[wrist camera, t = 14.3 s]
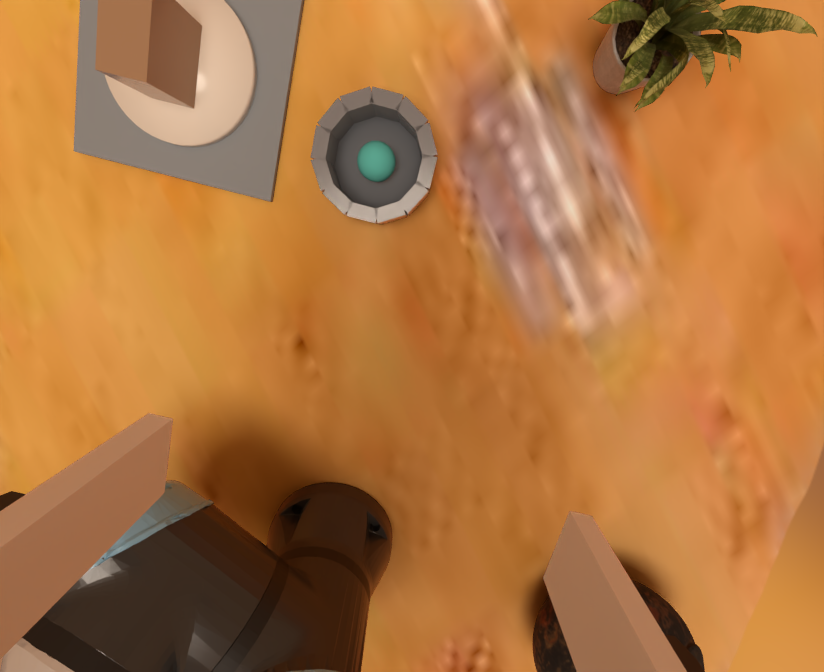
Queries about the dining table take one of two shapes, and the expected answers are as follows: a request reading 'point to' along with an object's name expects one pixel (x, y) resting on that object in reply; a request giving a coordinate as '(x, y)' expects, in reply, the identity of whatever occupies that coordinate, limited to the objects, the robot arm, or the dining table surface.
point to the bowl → (358, 125)
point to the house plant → (673, 40)
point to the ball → (376, 161)
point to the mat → (213, 164)
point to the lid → (177, 67)
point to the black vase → (553, 648)
